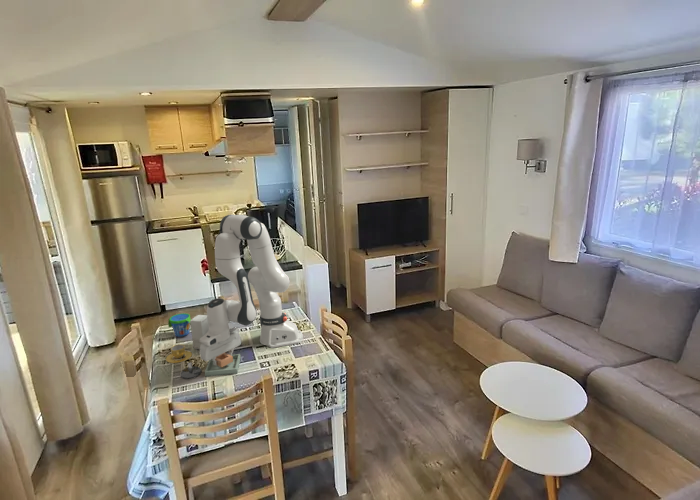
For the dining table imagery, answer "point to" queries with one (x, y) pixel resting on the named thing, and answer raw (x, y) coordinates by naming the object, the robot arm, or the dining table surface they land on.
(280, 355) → the dining table surface
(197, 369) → the silver knobbed lid
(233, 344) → the robot arm
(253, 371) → the dining table surface
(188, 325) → the snack cup
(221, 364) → the orange hollow square block
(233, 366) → the tray
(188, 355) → the cup
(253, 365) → the dining table surface
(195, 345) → the grey tall box
